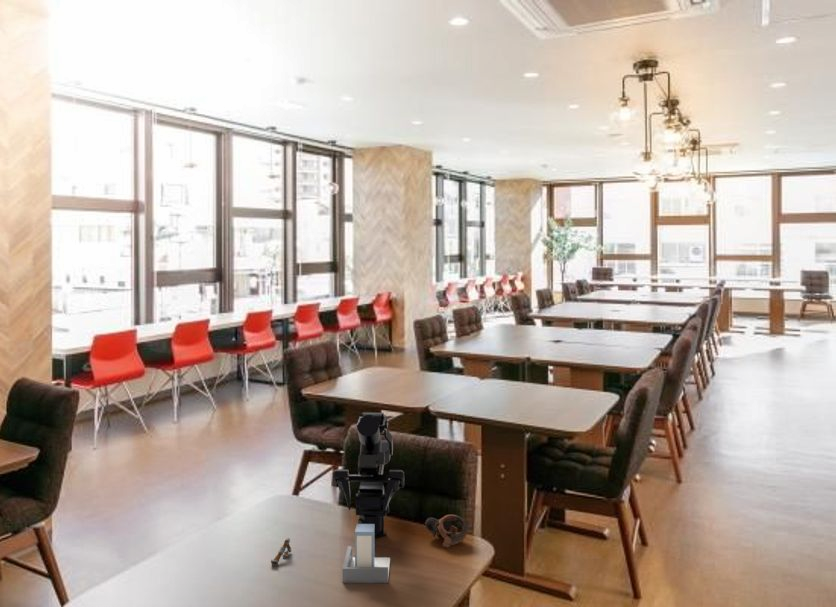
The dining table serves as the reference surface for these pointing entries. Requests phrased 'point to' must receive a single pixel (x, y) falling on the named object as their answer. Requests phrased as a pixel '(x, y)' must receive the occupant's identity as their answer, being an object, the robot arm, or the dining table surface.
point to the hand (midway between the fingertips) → (367, 509)
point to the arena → (365, 570)
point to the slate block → (365, 545)
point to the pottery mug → (447, 529)
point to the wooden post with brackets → (281, 551)
